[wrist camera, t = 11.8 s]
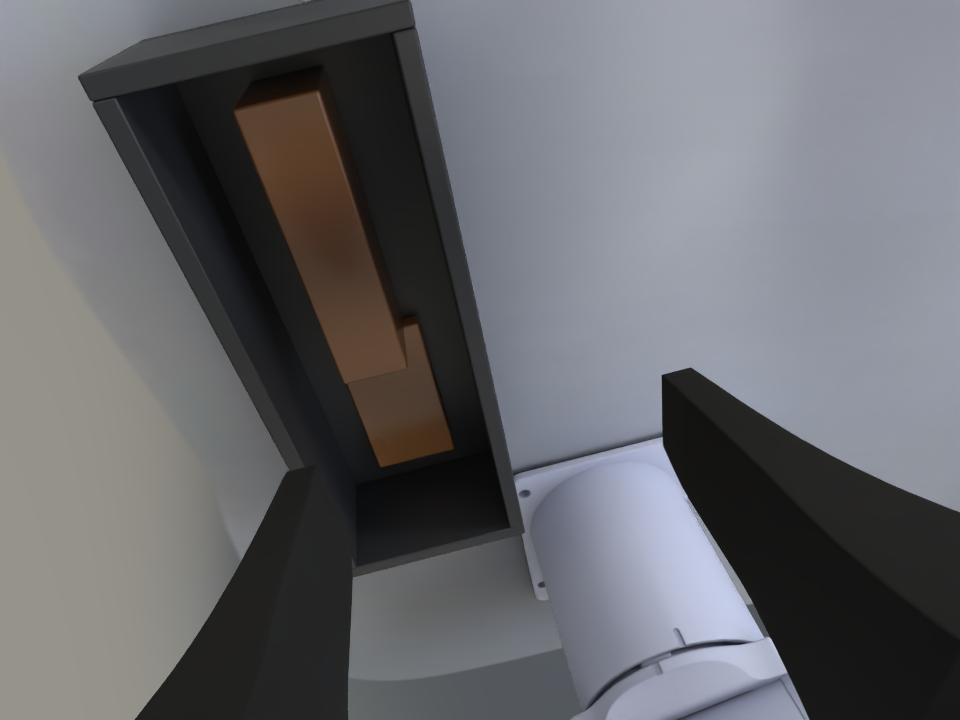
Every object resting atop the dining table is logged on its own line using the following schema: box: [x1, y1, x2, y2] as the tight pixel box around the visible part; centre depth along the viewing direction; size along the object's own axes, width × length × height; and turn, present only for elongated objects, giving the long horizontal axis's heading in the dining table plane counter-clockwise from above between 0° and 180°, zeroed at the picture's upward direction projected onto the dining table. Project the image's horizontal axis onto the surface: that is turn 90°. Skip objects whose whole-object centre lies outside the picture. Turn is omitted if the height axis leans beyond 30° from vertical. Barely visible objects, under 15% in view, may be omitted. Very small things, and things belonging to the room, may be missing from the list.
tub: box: [78, 0, 525, 577], centre depth 19 cm, size 17×7×4 cm, turn 10°
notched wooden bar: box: [233, 66, 454, 467], centre depth 19 cm, size 14×3×3 cm, turn 10°
